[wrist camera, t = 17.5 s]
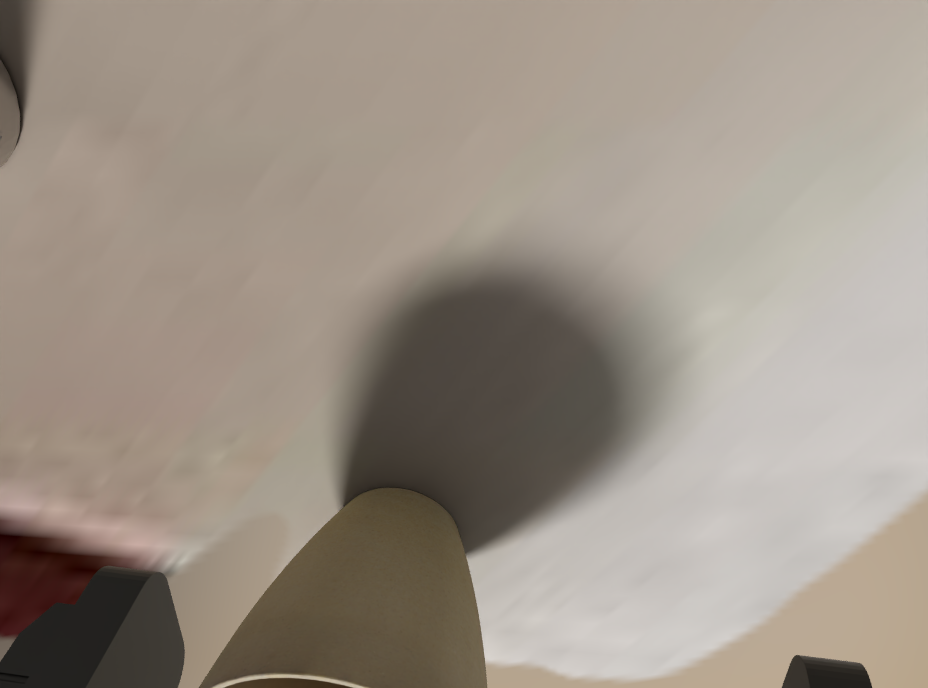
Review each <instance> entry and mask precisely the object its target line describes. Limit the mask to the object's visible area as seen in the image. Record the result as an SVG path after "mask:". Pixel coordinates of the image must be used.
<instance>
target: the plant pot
mask: <svg viewBox="0 0 928 688" xmlns="http://www.w3.org/2000/svg"><path fill="white" fill-rule="evenodd" d="M199 688H487V679H486V667H485V658H484V649H483V642H482V634H481V627H480V621H479V614H478V609H477V603H476V598H475V593H474V588H473V584H472V579H471V575H470V571H469V566H468V562H467V559H466V555H465V552H464V548H463V545H462V541H461V538H460V535H459V532H458V528H457V526H456V524H455V522H454V520H453V518H452V517H451V515H450V514H449V513H448V512H447V511H446V510H445V509H444V508H443V507H442V506H441V505H439V504H438V503H437V502H435V501H434V500H432V499H430V498H428V497H426V496H425V495H423V494H420V493H417V492H415V491H411V490H407V489H401V488H379V489H374V490H370V491H367V492H364V493H362V494H360V495H358V496H357V497H355V498H354V499H353V500H352V501H350V502H349V503H348V504H347V505H346V506H345V507H344V508H342V509H341V510H340V511H339V512H338V513H337V514H336V515H335V516H334V517H333V518H332V519H331V520H330V521H328V522H327V523H326V524H325V525H324V526H323V527H322V528H321V529H320V530H319V531H318V532H317V533H316V534H315V535H314V536H313V537H312V539H311V540H310V541H309V542H308V543H307V544H306V545H305V546H304V547H303V548H302V549H301V550H300V551H299V553H298V554H297V555H296V556H295V557H294V558H293V559H292V560H291V561H290V563H289V564H288V565H287V566H286V567H285V568H284V570H283V571H282V572H281V573H280V574H279V576H278V577H277V578H276V579H275V580H274V582H273V583H272V584H271V585H270V587H269V588H268V589H267V590H266V591H265V593H264V594H263V596H262V597H261V598H260V599H259V601H258V602H257V603H256V604H255V606H254V607H253V609H252V610H251V611H250V613H249V614H248V615H247V617H246V618H245V619H244V621H243V622H242V624H241V625H240V626H239V628H238V629H237V631H236V632H235V634H234V635H233V637H232V638H231V640H230V641H229V642H228V644H227V646H226V647H225V649H224V650H223V651H222V653H221V654H220V656H219V657H218V659H217V660H216V662H215V664H214V665H213V667H212V668H211V670H210V671H209V673H208V674H207V676H206V677H205V679H204V680H203V682H202V684H201V685H200V687H199Z"/></svg>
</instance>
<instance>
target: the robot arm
mask: <svg viewBox="0 0 928 688" xmlns="http://www.w3.org/2000/svg"><path fill="white" fill-rule="evenodd" d="M19 133H20V111H19V105H18V100H17V94H16V92H15V89H14V86H13V84H12V81H11V78H10V76H9V73H8V72H7V70H6V68H5V66H4V65H3V63H2V61H1V59H0V167H1V166H2V165H3V164H4V163H6V162H7V160H8V159H9V157H10V156H11V154H12V152H13V151H14V149H15V147H16V143H17V140H18V136H19ZM184 651H185V650H184V642H183V638H182V634H181V630H180V627H179V623H178V619H177V615H176V611H175V608H174V604H173V600H172V596H171V593H170V589H169V585H168V582H167V579H166V577H165V575H164V574H163V573H160V572H153V571H145V570H137V569H129V568H121V567H113V566H105V567H103V568H101V569H100V570H98V571H97V573H96V574H95V575H94V576H93V577H92V579H91V580H90V582H89V583H88V585H87V587H86V588H85V590H84V591H83V593H82V594H81V596H80V598H79V599H78V601H77V602H76V604H75V605H71V604H63V603H56V604H54V605H53V606H52V607H51V608H50V609H48V610H47V611H46V612H45V613H44V614H42V615H41V616H40V617H39V618H38V619H36V620H35V621H34V622H33V623H32V624H30V625H29V626H28V627H27V628H26V629H24V630H23V631H22V632H21V633H20V634H19V635H18V637H17V638H16V639H15V641H14V642H13V644H12V645H11V647H10V649H9V650H8V651H7V653H6V654H5V656H4V657H3V659H2V660H1V662H0V688H178V685H179V682H180V679H181V675H182V670H183V665H184ZM782 688H872V686H871V682H870V679H869V676H868V674H867V671H866V670H865V668H864V666H863V665H862V664H860V663H856V662H848V661H840V660H832V659H824V658H816V657H808V656H800V655H796V656H794V658H793V659H792V661H791V663H790V666H789V669H788V672H787V674H786V677H785V680H784V683H783V686H782Z"/></svg>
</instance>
